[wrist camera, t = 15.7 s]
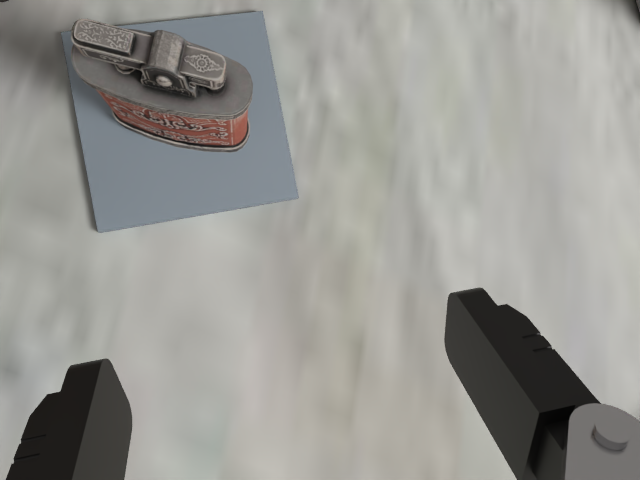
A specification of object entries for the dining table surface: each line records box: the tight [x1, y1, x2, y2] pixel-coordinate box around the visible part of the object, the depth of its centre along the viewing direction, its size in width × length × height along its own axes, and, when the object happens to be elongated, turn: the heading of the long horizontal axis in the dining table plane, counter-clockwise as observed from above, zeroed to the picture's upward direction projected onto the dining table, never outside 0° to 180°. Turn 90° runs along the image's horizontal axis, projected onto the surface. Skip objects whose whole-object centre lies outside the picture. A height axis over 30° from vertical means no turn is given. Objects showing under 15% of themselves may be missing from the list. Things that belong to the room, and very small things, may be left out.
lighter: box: [71, 19, 253, 153], centre depth 24 cm, size 8×3×10 cm, turn 79°
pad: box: [61, 11, 299, 233], centre depth 29 cm, size 12×12×1 cm
